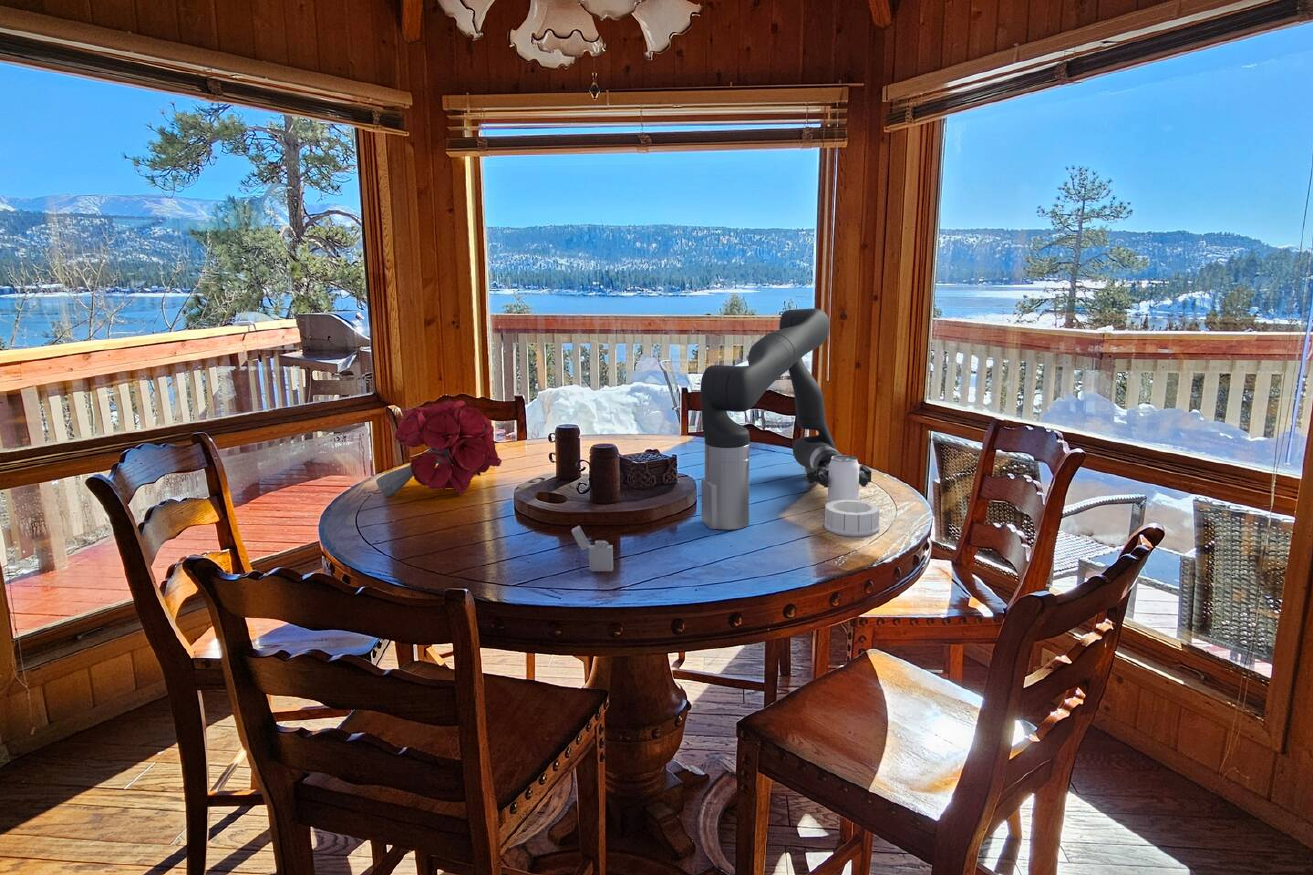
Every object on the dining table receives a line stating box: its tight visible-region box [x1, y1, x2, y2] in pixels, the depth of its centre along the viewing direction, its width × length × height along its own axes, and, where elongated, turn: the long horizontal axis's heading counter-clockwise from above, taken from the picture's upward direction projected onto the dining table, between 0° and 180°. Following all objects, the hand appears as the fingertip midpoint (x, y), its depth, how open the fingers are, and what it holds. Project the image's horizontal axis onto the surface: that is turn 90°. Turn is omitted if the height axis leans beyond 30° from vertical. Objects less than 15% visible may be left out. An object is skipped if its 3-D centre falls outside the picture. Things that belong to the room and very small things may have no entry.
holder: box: [823, 499, 880, 538], centre depth 163 cm, size 11×11×4 cm
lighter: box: [571, 525, 614, 572], centre depth 142 cm, size 7×2×8 cm, turn 88°
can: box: [827, 454, 860, 503], centre depth 173 cm, size 6×6×12 cm
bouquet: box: [375, 400, 502, 498], centre depth 192 cm, size 22×24×30 cm
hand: (845, 482), depth 171 cm, fingers open, 7 cm apart
